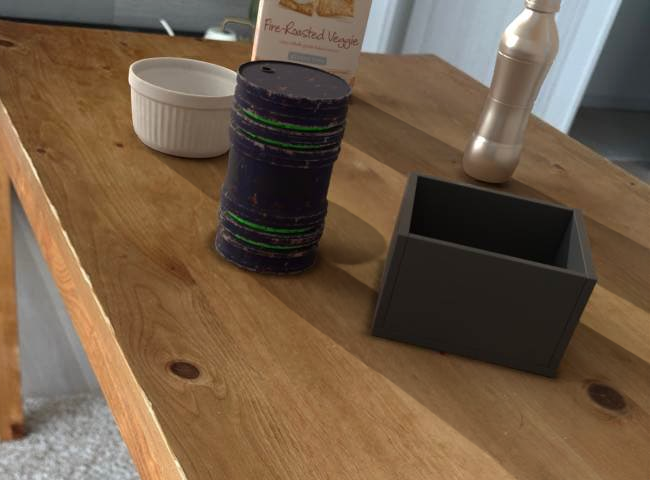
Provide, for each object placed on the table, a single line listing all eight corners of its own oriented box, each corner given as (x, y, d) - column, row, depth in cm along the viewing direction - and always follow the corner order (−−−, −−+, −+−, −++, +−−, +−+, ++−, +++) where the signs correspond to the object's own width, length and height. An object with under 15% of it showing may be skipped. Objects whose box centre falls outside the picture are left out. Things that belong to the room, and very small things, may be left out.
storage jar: (336, 254, 84) (374, 87, 74) (282, 286, 77) (316, 108, 67) (251, 217, 87) (276, 53, 77) (192, 245, 81) (211, 70, 71)
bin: (544, 299, 83) (582, 209, 77) (553, 377, 73) (598, 280, 67) (384, 262, 84) (409, 170, 78) (370, 334, 73) (398, 234, 67)
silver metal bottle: (446, 172, 105) (504, -20, 92) (480, 165, 109) (541, -21, 95) (488, 193, 102) (554, -3, 88) (522, 185, 106) (590, -4, 92)
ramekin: (102, 126, 99) (104, 59, 95) (191, 114, 107) (198, 52, 102) (174, 171, 93) (180, 101, 88) (264, 155, 100) (274, 90, 96)
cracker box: (250, 89, 118) (276, -100, 103) (248, 75, 122) (273, -108, 108) (351, 104, 119) (391, -80, 105) (346, 90, 124) (383, -88, 110)
